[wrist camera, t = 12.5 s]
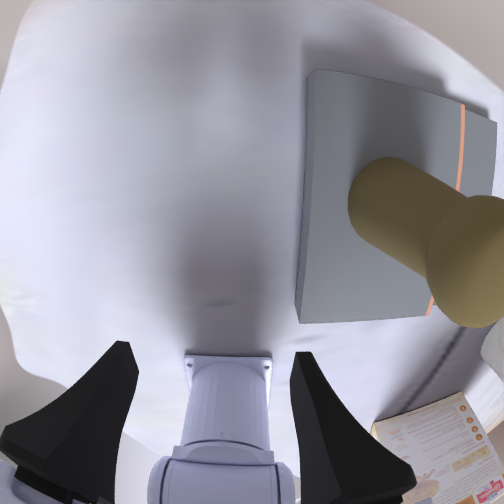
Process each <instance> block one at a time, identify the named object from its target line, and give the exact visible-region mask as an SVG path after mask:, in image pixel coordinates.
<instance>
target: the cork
mask: <svg viewBox="0 0 504 504" xmlns="http://www.w3.org/2000/svg"><path fill="white" fill-rule="evenodd" d="M348 214H349V218H350V222H351V225H352V226H353V228H354V229H355V231H356V233H357V234H358V235H359V236H360V237H361V238H362V239H364V240H365V241H366V242H367V243H369V244H371V245H372V246H374V247H376V248H377V249H379V250H381V251H382V252H384V253H386V254H387V255H389V256H391V257H392V258H394V259H395V260H397V261H399V262H400V263H402V264H403V265H405V266H407V267H408V268H410V269H411V270H413V271H414V272H416V273H418V274H419V275H421V276H422V277H424V278H425V279H427V283H428V286H429V288H430V291H431V294H432V296H433V298H434V301H435V303H436V305H437V306H438V307H439V308H440V309H441V311H442V312H443V313H444V314H445V315H446V316H447V317H448V318H449V319H451V320H452V321H453V322H455V323H457V324H458V325H460V326H465V327H470V328H483V327H487V326H490V325H492V324H493V323H495V322H496V321H498V320H500V319H501V318H502V317H504V199H501V198H499V197H495V196H487V195H474V196H471V197H466V196H465V195H463V194H462V193H460V192H458V191H457V190H455V189H454V188H452V187H450V186H449V185H447V184H445V183H444V182H442V181H440V180H439V179H437V178H435V177H433V176H432V175H430V174H428V173H426V172H425V171H423V170H421V169H419V168H417V167H415V166H414V165H412V164H410V163H408V162H406V161H404V160H402V159H400V158H393V157H384V158H381V159H377V160H374V161H372V162H371V163H369V164H368V165H367V166H365V167H364V168H362V170H361V171H360V172H359V174H358V175H357V176H356V178H355V179H354V180H353V183H352V186H351V189H350V192H349V194H348Z"/></svg>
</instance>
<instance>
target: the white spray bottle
mask: <svg viewBox="0 0 504 504" xmlns="http://www.w3.org/2000/svg"><path fill="white" fill-rule="evenodd" d="M480 354H481V357H482V358H483V359H484V360H485V361H486V362H487V364H488V365H489V366H490V367H491V368H492V369H493V370H494V372H495V373H496V374H497V375H498V376H499V378H500V379H501V380H502V382H503V383H504V317H502V318H501V319H500V320H498V321H497V322H496V323H495V325H494V326H493V327H492V328H491V330H490V331H489V333H488V334H487V336H486V337H485V339H484V341H483V344H482V346H481V351H480Z"/></svg>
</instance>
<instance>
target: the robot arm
mask: <svg viewBox="0 0 504 504" xmlns="http://www.w3.org/2000/svg"><path fill="white" fill-rule="evenodd" d="M189 363H190V364H189ZM184 364H185V369H186V375H187V380H188V385H189V389H190V396H189V401H188V406H187V411H186V417H185V422H184V428H183V433H182V439H181V444H180V446H174V449H173V454H172V457H170V456H164V457H162V458H161V459H160V460H159V461H158V462H157V463H156V464H155V465H154V467H153V469H152V471H151V474H150V477H149V482H148V490H147V501H148V504H295V487H294V480H293V475H292V472H291V470H290V469H289V468H288V467H287V466H285V464H284V463H283V462H276V463H275V464H274V451H270V442H269V424H268V409H269V398H270V387H271V376H272V364H273V362H272V359H271V358H269V357H220V356H197V355H186V356H185V357H184ZM266 365H267V366H266ZM138 375H139V370H138V367H137V364H136V361H135V358H134V355H133V352H132V349H131V346H130V343H129V342H124V341H116V342H115V343H114V344H113V345H112V346H111V347H110V348H109V349H108V350H107V351H106V353H105V354H104V355H103V356H102V357H101V358H100V359H99V360H98V361H97V362H96V363H95V364H94V365H93V366H92V367H91V368H90V369H89V370H88V371H87V372H86V373H85V374H84V375H83V376H82V377H81V378H80V379H79V380H78V381H77V382H76V383H75V384H74V385H73V386H72V387H71V388H69V389H68V390H67V391H66V392H65V393H63V394H62V395H61V396H60V397H58V398H57V399H56V400H54V401H53V402H51V403H50V404H48V405H47V406H45V407H44V408H42V409H41V410H39V411H37V412H35V413H33V414H32V415H30V416H28V417H26V418H24V419H21V420H19V421H17V422H14V423H12V424H10V425H7V426H5V428H4V430H3V432H2V435H1V437H0V451H1V452H2V453H4V454H5V455H6V456H7V457H9V458H10V459H11V460H12V461H13V462H15V463H16V464H17V465H18V467H17V469H15V468H14V467H13V466H11V465H9V464H8V463H6V462H5V461H3V460H1V459H0V504H89V503H90V504H115V499H114V497H115V496H114V493H115V473H116V463H117V455H118V449H119V443H120V438H121V433H122V430H123V427H124V423H125V420H126V417H127V414H128V411H129V408H130V405H131V402H132V399H133V396H134V393H135V390H136V385H137V380H138ZM290 396H291V405H292V411H293V417H294V422H295V428H296V433H297V439H298V445H299V455H300V476H301V504H400V503H402V502H403V497H402V495H403V494H405V493H406V492H408V491H410V490H411V489H413V488H414V487H415V486H416V485H417V480H416V477H415V474H414V471H413V469H412V467H411V465H410V464H408V463H406V462H405V461H403V460H402V459H400V458H399V457H397V456H396V455H395V454H393V453H392V452H391V451H389V450H388V449H387V448H385V447H384V446H383V445H382V444H381V443H379V442H378V441H377V440H376V439H375V438H374V437H373V436H372V435H370V434H369V433H368V432H367V431H366V430H365V429H364V428H363V427H362V426H361V425H360V424H359V422H358V421H357V420H356V419H355V418H354V417H353V416H352V415H351V413H350V412H349V411H348V410H347V408H346V407H345V406H344V404H343V403H342V402H341V400H340V399H339V398H338V396H337V395H336V393H335V392H334V390H333V389H332V387H331V386H330V384H329V383H328V381H327V380H326V378H325V376H324V375H323V373H322V371H321V369H320V368H319V366H318V364H317V362H316V360H315V358H314V356H313V354H312V353H311V352H296V354H295V359H294V363H293V368H292V372H291V377H290ZM413 504H433V502H432V498H430V497H429V498H426V499H424V500H421V501H419V502H416V503H413Z"/></svg>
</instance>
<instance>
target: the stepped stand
mask: <svg viewBox="0 0 504 504" xmlns="http://www.w3.org/2000/svg"><path fill="white" fill-rule="evenodd" d="M496 143H497V122H495V121H492V120H490V119H488V118H485V117H483V116H481V115H478V114H476V113H473V112H471V111H468V110H466V109H465V105H464V104H461V103H459V102H456V101H453V100H451V99H448V98H445V97H442V96H439V95H436V94H433V93H430V92H426V91H423V90H420V89H416V88H413V87H409V86H405V85H402V84H398V83H394V82H389V81H385V80H381V79H376V78H371V77H366V76H361V75H355V74H350V73H343V72H337V71H330V70H322V69H315V70H314V71H313V72H312V73H311V74H310V75H309V76H308V77H307V128H306V157H305V179H304V198H303V214H302V228H301V242H300V254H299V266H298V277H297V288H296V298H295V307H296V311H297V315H298V319H299V324H309V323H335V322H354V321H369V320H383V319H395V318H406V317H416V316H425V315H429V313H430V310H431V307H432V305H436V303H435V301H434V298H433V296H432V294H431V291H430V288H429V286H428V283H427V279H425V278H424V277H422V276H421V275H419V274H418V273H416V272H414V271H413V270H411V269H410V268H408V267H407V266H405V265H403V264H402V263H400V262H399V261H397V260H395V259H394V258H392V257H391V256H389V255H387V254H386V253H384V252H382V251H381V250H379V249H377V248H376V247H374V246H372V245H371V244H369V243H367V242H366V241H365V240H364V239H362V238H361V237H360V236H359V235H358V234H357V233H356V231H355V229H354V228H353V226H352V225H351V222H350V218H349V214H348V194H349V192H350V189H351V186H352V183H353V180H354V179H355V178H356V176H357V175H358V174H359V172H360V171H361V170H362V168H364V167H365V166H367V165H368V164H369V163H371V162H372V161H374V160H377V159H381V158H384V157H393V158H400V159H402V160H404V161H406V162H408V163H410V164H412V165H414V166H415V167H417V168H419V169H421V170H423V171H425V172H426V173H428V174H430V175H432V176H433V177H435V178H437V179H439V180H440V181H442V182H444V183H445V184H447V185H449V186H450V187H452V188H454V189H455V190H457V191H458V192H460V193H462V194H463V195H465V196H466V197H471V196H474V195H487V196H491V194H492V186H493V179H494V169H495V158H496Z"/></svg>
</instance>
